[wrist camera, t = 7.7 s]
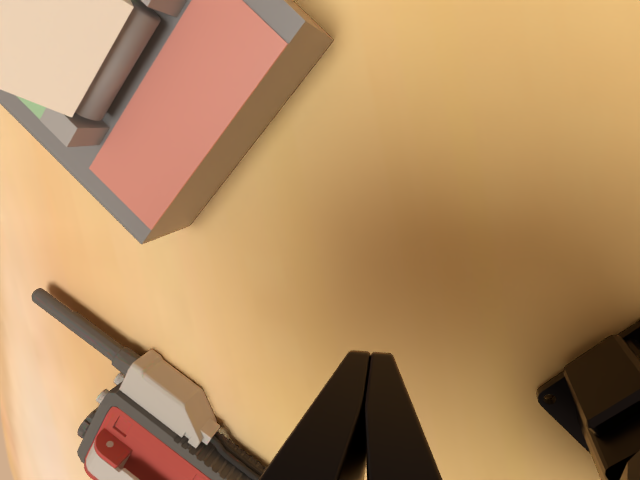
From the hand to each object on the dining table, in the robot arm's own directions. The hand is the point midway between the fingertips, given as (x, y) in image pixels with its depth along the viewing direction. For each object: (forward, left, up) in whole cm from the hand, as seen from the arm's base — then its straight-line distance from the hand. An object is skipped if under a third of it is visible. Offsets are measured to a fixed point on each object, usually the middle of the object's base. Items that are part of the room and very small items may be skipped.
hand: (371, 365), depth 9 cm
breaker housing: (+14, +3, -13) cm, 19 cm away
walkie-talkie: (+3, +21, -13) cm, 25 cm away
